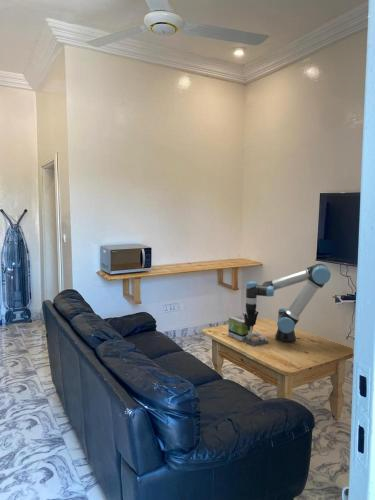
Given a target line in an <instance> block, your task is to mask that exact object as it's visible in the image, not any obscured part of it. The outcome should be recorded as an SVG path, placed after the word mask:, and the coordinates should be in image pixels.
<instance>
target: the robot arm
mask: <svg viewBox="0 0 375 500" xmlns="http://www.w3.org/2000/svg"><path fill="white" fill-rule="evenodd" d="M330 279H331V271H330V269H329V267H328V266H327V265H325V264H324V263H316V264H313V265H311V266H308V267H305V269H304V270H301V271H297V272H295V273H292V274H287V275H284V276H282V277H278V278H275V279H272V280H267V281H264V282H263V283H262V284H258V282H257V281H252V280H251V281H248V282H246V286H245V287H246V289H245V291H246V292H245V293H246V294H245V295H246V296H245V309H246V310H245V312H243V313H242V315H243V318H244V320H245V325H246V326H248V335H252V334H253V331H254V327H255V325H256V323H257V320H258V319H257V318H258V315H259V311H257V301H258V300H257V297H261V296H262V297H274V296H275V295H274V294H275V291H276V290H280V289H283V288H287V287H290V286H292V285H296V284H300V283H302V282H305V281H306V283H305V285H304V286H303V288H302V289H301V290H300V291H299V293H298V295H296V298H295V299H294V300H293V301H292V303H291V304H290V306H289V307H288V308H279V309H278V312H277V313H278V315H277V316H278V317H277V322H276V324H277V331H276V333H275V336H274V337H275V338H274V339H275V340H276V341H277V342H280V343H287V344H288V343H289V344H292V343H295V342H296V341H297V336H296V332H295V327H296V326H297V324H298V322H299V321H300V316H301V314H302V313H303V311H304V310H305V308H306V307H307V306H308V304H309V303H310V301H312V299H313V297H314V296H315V295H316V293H317V292H318V291H319V289H322V288H324V286H325V284H327V283H328V282H329V281H330Z"/></svg>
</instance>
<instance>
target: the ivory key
mask: <svg viewBox="0 0 375 500" xmlns="http://www.w3.org/2000/svg"><path fill="white" fill-rule="evenodd" d="M257 337H258V338H260V340H259V341H260V342H263V341H265V340H267V337H266V336H265V335H262V334H261V335H259V336H257Z"/></svg>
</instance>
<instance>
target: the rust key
mask: <svg viewBox="0 0 375 500" xmlns="http://www.w3.org/2000/svg"><path fill="white" fill-rule="evenodd" d="M259 340H260V338H258V337H256V336H255V337H251V342H253V343H258V342H259Z"/></svg>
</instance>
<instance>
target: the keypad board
mask: <svg viewBox="0 0 375 500" xmlns="http://www.w3.org/2000/svg"><path fill="white" fill-rule="evenodd" d="M242 342H244V343H245V344H247V345H249V344H250V346H252V347H259V346H263V345H264V346H265V345H268V344H269V340H267V339H265V341H263V342H260V341H259V342H258V343H253V342H251V341H249V340H247V339H246V338H245V339H243V341H242Z"/></svg>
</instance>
